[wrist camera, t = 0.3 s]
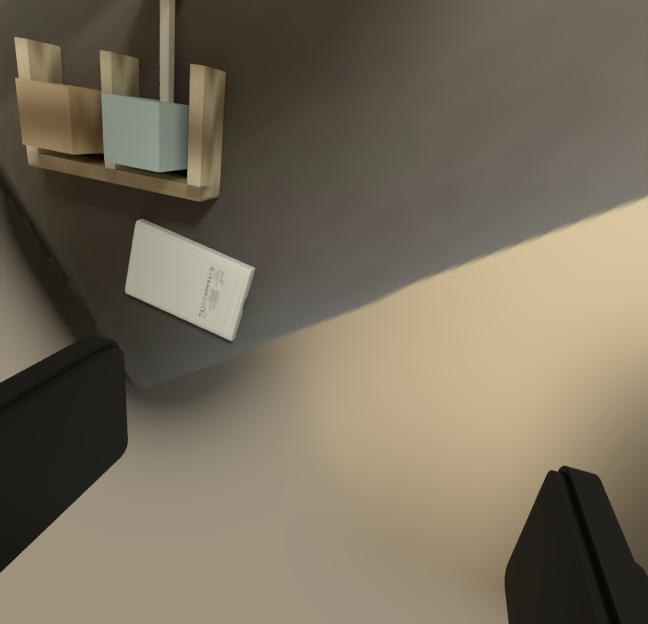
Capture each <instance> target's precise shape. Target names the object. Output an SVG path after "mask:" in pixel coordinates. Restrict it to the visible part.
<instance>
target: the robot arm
mask: <svg viewBox="0 0 648 624" xmlns="http://www.w3.org/2000/svg"><path fill="white" fill-rule="evenodd" d="M127 444H128V434H127V414H126V392H125V371H124V355H123V351H122V350H121V349H119V345H118V344H117V342H115V341H114V340H110V339H106V338H103V337H99V336H95V335H89V336H86V337H84V338H82V339H80V340H79V341H77V342H75V343H73V344H72V345H69V346H67V347H66V348H64V349H62V350H60V351H58V352H57V353H55V354H53V355H51V356H49V357H47V358H46V359H43V360H42V361H40V362H38V363H36V364H34V365H32V366H31V367H29V368H27V369H25V370H23V371H21V372H19V373H18V374H16V375H14V376H12V377H10V378H9V379H7V380H5V381H3V382H1V383H0V572H2V571H3V569H5V568H6V567H7V566H8V565H9V564H10V563H11V562H12V561H13V560H14V559H15V558H16V557H17V556H18V555H19V554H20V553H21V552H22V551H23V550H24V549H26V548H27V546H28V545H30V544H31V543H32V542H33V541H34V540H35V539H36V538H37V537H38V536H39V535H40V534H41V533H42V532H43V531H44V530H45V529H46V528H47V527H48V526H50V525H51V523H53V522H54V521H55V520H56V519H57V518H58V517H59V516H60V515H61V514H62V513H63V512H64V511H65V510H66V509H67V508H68V507H69V506H70V505H71V504H72V503H74V502H75V501H76V500H77V499H78V498H79V497H80V496H81V495H82V494H83V493H84V492H85V491H86V490H87V489H88V488H89V487H90V486H91V485H92V484H93V483H94V482H95V481H96V480H98V478H100V476H102V474H104V473H105V472H106V471H107V470H108V469H109V468H110V467H111V466H112V465H113V464H114V463H115V462H116V461H117V460H118V459H119V458H120V457H121V456H122V455H123V454H124V452H125V450H126V448H127ZM505 593H506V602H507V611H508V620H509V624H648V576H647V575H646V573H645V571H644V570H643V568H642V567H641V566H640V565H638V564H637V563H635V561H634V559H633V556H632V554H631V552H630V549H629V547H628V544H627V542H626V539H625V537H624V535H623V532H622V530H621V528H620V525H619V523H618V521H617V518H616V516H615V513H614V511H613V508H612V506H611V504H610V501H609V499H608V497H607V494H606V492H605V490H604V487H603V485H602V482H601V480H600V478H599V477H598V476H597V475H596V474H593V473H589V472H585V471H582V470H578V469H574V468H571V467H567V466H562V467H561V468H560V469H559V471H558V472H556V471H553V470H551V471H549V472H548V474H547V476H546V478H545V480H544V482H543V484H542V487H541V489H540V491H539V494H538V496H537V498H536V500H535V503H534V505H533V507H532V510H531V512H530V514H529V517H528V519H527V521H526V523H525V526H524V528H523V530H522V532H521V535H520V537H519V539H518V542H517V544H516V546H515V549H514V551H513V553H512V555H511V558H510V560H509V562H508V564H507V568H506V572H505Z"/></svg>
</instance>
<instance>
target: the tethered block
mask: <svg viewBox="0 0 648 624" xmlns="http://www.w3.org/2000/svg"><path fill="white" fill-rule="evenodd" d="M174 44H175V0H160V100H154V99H148V98H140V97H132V96H123V95H115V94H107V93H101V101H102V123H103V144H104V161H106V162H111V163H116V164H121V165H125V166H130V167H135V168H140V169H145V170H150V171H155V172H166V171H174V170H182V169H188V134H189V105H184V104H178V103H174Z"/></svg>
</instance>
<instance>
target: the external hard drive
mask: <svg viewBox="0 0 648 624" xmlns="http://www.w3.org/2000/svg"><path fill="white" fill-rule="evenodd" d="M254 271H255V268H254V267H252V266H249V265H247V264H245V263H243V262H240V261H238V260H236V259H233V258H231V257H229V256H227V255H224V254H222V253H220V252H218V251H215V250H213V249H211V248H208V247H206V246H204V245H202V244H199V243H197V242H195V241H192V240H190V239H188V238H186V237H183V236H181V235H179V234H177V233H174V232H172V231H170V230H168V229H165V228H163V227H161V226H158V225H156V224H154V223H152V222H149V221H147V220H145V219H140V220H137V221H136V224H135V229H134V235H133V242H132V249H131V255H130V261H129V267H128V274H127V280H126V286H125V292H126V293H127V294H129V295H131V296H133V297H136V298H138V299H140V300H142V301H144V302H147V303H149V304H151V305H153V306H155V307H158V308H160V309H162V310H164V311H166V312H169V313H171V314H173V315H175V316H177V317H179V318H182V319H184V320H186V321H188V322H191V323H193V324H195V325H197V326H199V327H201V328H204V329H206V330H208V331H210V332H213V333H215V334H217V335H219V336H221V337H223V338H226V339H228V340H230V341H232V340H233V339H235V336H236V333H237V329H238V326H239V323H240V319H241V316H242V312H243V310H242V308H243V305H244V302H245V299H246V298H247V295H248V292H249V288H250V285H251V281H252V278H253V274H254Z"/></svg>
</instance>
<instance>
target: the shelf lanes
mask: <svg viewBox="0 0 648 624" xmlns="http://www.w3.org/2000/svg"><path fill="white" fill-rule="evenodd" d="M15 46H16V55H17V64H18V74H19V79H27V80H34V81H42V82H49V83H57V84H63V75H62V62H61V49H60V46H55V45H51V44H46V43H42V42H38V41H33V40H29V39H23V38H17V37H15ZM100 67H101V89H102V93H107V94H115V95H123V96H132V97H139V59H138V58H134V57H130V56H126V55H122V54H118V53H114V52H110V51H103V50H100ZM225 83H226V72H225V71H221V70H218V69H214V68H211V67H207V66H203V65H196V64H190V97H189V134H188V172H187V176H182V175H177V174H172V173H167V172H155V171H150V170H145V169H140V168H135V167H130V166H125V165H121V164H116V163H111V162H106V161H104V160H103V159H98V158H93V157H88V156H83V155H79V154H74V155H73V154H68V153H63V152H58V151H53V150H48V149H43V148H39V147H34V146H29V145H26V146H27V155H28V164H29V165H31V166H35V167H40V168H45V169H49V170H54V171H59V172H63V173H68V174H73V175H77V176H82V177H87V178H91V179H96V180H101V181H105V182H110V183H115V184H119V185H124V186H129V187H133V188H138V189H143V190H147V191H152V192H157V193H161V194H166V195H171V196H175V197H180V198H185V199H189V200H194V201H199V202H200V201H204V200H208V199H212V198H216V197H219V191H220V173H221V155H222V137H223V119H224V101H225Z"/></svg>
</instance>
